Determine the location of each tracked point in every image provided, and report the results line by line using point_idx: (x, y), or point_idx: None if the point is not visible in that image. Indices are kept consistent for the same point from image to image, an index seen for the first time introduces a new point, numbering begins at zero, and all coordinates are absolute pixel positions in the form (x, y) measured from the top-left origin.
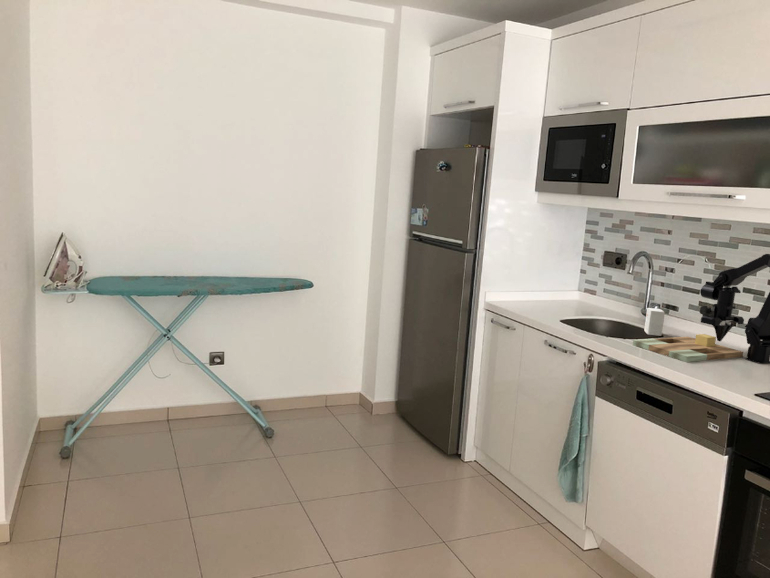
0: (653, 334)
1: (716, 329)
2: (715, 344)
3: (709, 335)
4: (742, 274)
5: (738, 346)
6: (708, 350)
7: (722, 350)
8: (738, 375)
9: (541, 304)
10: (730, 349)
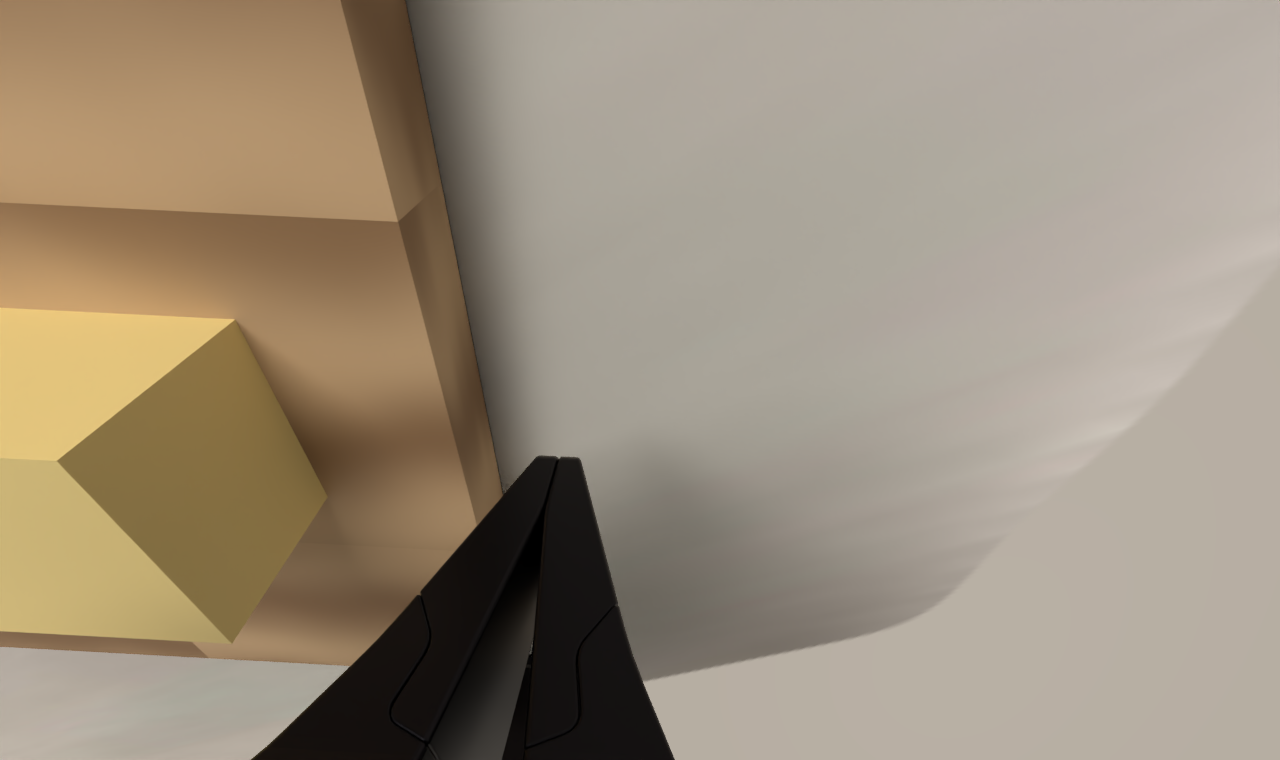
0: None
1: (355, 716)
2: (426, 456)
3: (143, 560)
4: None
5: (1169, 388)
6: None
7: (264, 615)
8: (84, 736)
9: None
10: None
